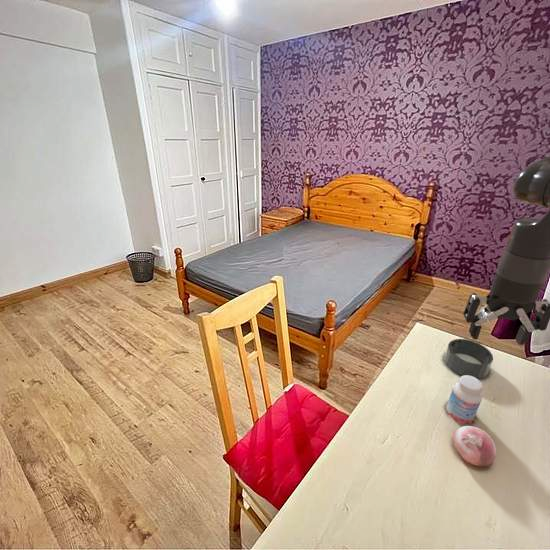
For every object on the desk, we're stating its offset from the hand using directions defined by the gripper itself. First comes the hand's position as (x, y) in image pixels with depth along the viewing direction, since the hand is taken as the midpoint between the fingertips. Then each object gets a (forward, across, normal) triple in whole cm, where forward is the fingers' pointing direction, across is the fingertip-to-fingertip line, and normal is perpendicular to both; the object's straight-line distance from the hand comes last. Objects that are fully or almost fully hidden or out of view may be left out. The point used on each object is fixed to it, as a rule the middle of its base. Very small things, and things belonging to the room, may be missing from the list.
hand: (495, 339), depth 66 cm
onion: (+24, +3, +11) cm, 26 cm away
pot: (+24, -3, -17) cm, 29 cm away
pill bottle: (+24, +2, +1) cm, 24 cm away
